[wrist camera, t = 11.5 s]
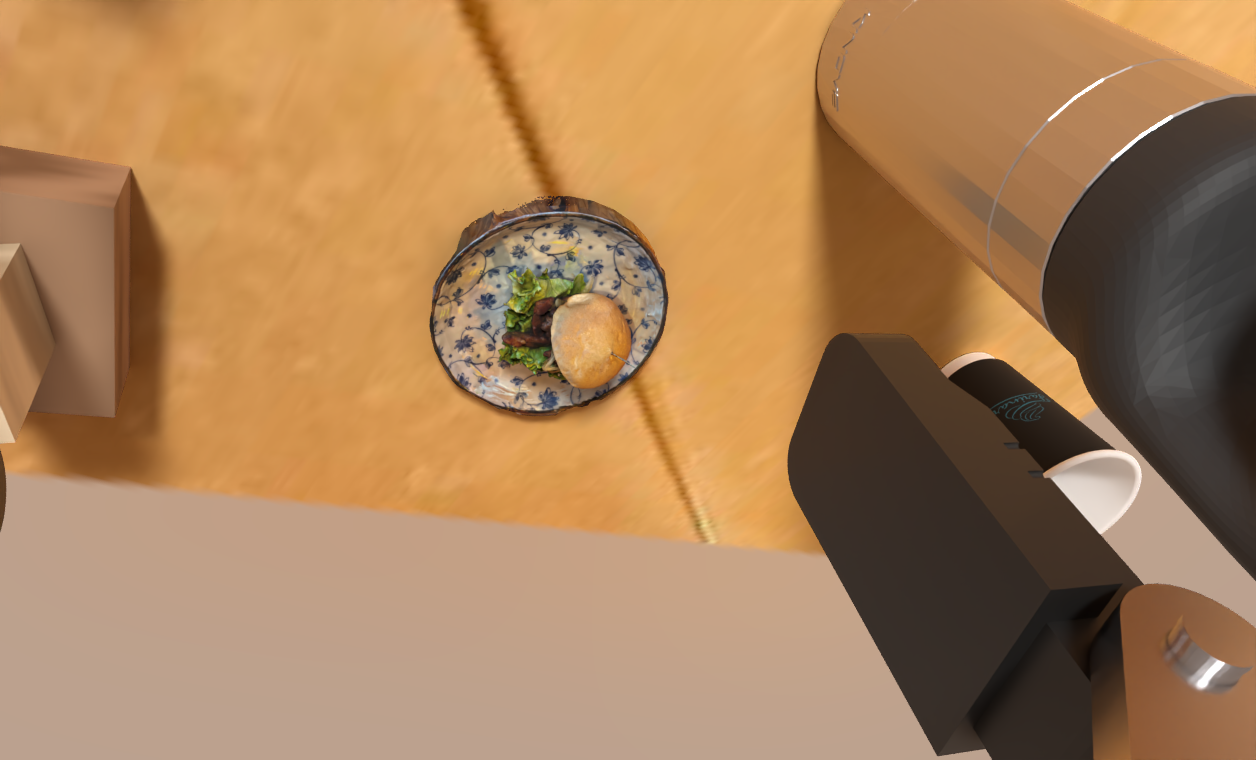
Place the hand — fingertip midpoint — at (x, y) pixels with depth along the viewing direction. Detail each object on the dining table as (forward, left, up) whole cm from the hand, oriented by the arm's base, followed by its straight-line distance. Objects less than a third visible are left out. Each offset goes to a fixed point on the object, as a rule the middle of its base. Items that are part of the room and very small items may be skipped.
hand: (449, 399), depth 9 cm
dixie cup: (-36, +23, -30) cm, 52 cm away
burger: (-9, +18, -31) cm, 37 cm away
